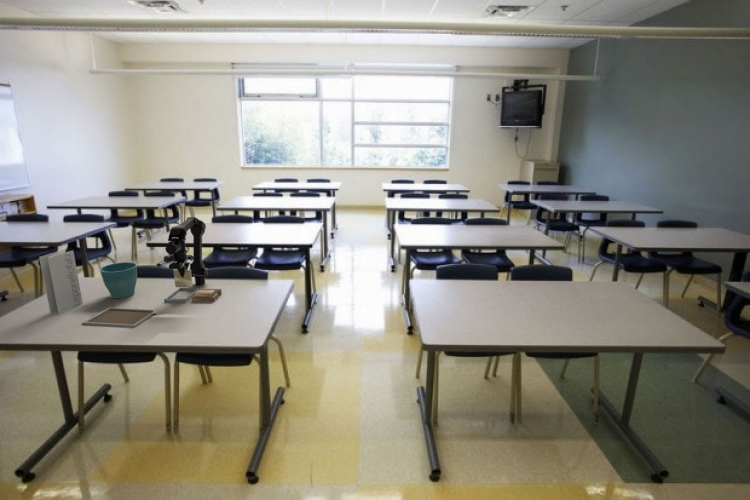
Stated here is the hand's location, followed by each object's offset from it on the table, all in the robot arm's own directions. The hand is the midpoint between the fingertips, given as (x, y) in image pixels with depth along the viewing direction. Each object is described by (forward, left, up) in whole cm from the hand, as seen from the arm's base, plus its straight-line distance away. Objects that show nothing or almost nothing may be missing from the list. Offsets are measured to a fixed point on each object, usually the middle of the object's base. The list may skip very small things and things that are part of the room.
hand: (183, 276), depth 237 cm
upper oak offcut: (+5, +13, -9) cm, 17 cm away
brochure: (+16, -56, -13) cm, 60 cm away
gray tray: (0, -1, -13) cm, 13 cm away
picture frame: (+27, -22, -14) cm, 37 cm away
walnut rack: (+2, +13, -13) cm, 19 cm away
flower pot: (-4, -38, -13) cm, 40 cm away
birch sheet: (0, 0, -6) cm, 6 cm away
